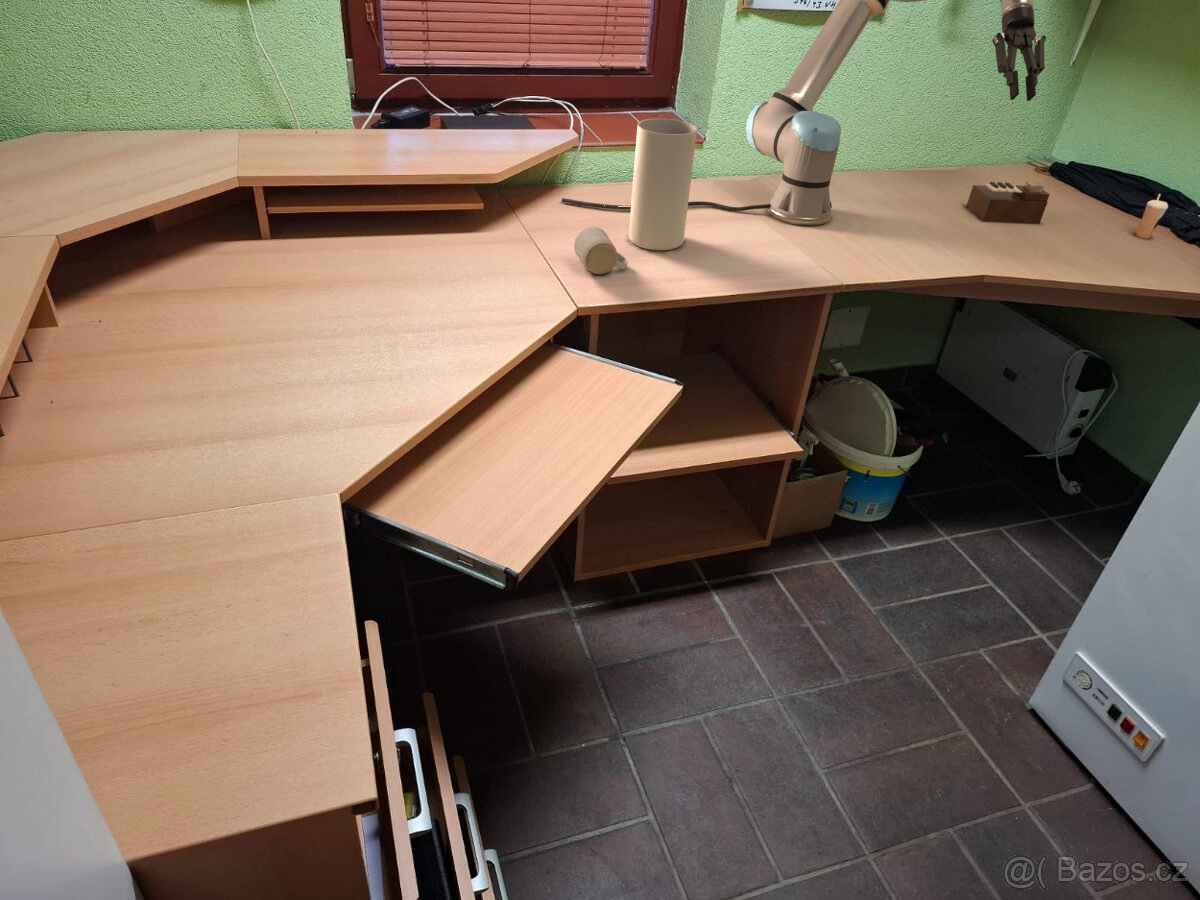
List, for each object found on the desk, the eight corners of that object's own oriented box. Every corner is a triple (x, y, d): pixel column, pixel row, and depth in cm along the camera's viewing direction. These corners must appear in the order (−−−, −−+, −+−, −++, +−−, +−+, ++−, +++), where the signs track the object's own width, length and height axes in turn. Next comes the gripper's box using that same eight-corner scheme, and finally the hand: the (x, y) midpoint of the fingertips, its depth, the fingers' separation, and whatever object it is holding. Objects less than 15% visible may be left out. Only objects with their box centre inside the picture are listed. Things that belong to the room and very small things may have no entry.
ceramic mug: (585, 278, 166) (587, 242, 161) (572, 262, 172) (574, 227, 167) (632, 274, 169) (636, 239, 164) (619, 258, 175) (622, 224, 171)
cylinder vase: (694, 242, 185) (709, 128, 170) (660, 256, 177) (672, 138, 162) (651, 226, 191) (662, 115, 177) (617, 239, 184) (625, 124, 169)
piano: (983, 221, 208) (993, 192, 203) (965, 206, 216) (975, 178, 212) (1039, 223, 209) (1050, 194, 204) (1020, 208, 217) (1030, 180, 213)
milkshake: (1151, 234, 207) (1170, 195, 201) (1153, 241, 203) (1172, 201, 197) (1132, 230, 208) (1149, 192, 202) (1133, 237, 204) (1151, 198, 198)
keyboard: (992, 191, 204) (993, 188, 203) (983, 184, 208) (984, 181, 207) (1022, 192, 204) (1023, 189, 204) (1012, 185, 208) (1014, 182, 208)
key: (1028, 193, 206) (1031, 185, 204) (1023, 189, 208) (1026, 181, 207) (1041, 193, 206) (1044, 186, 205) (1035, 189, 208) (1038, 182, 207)
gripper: (1039, 26, 216) (1045, 107, 212) (978, 22, 215) (983, 104, 211) (1057, 6, 208) (1063, 90, 205) (994, 2, 207) (999, 86, 204)
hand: (1023, 97), depth 208 cm, fingers open, 4 cm apart
